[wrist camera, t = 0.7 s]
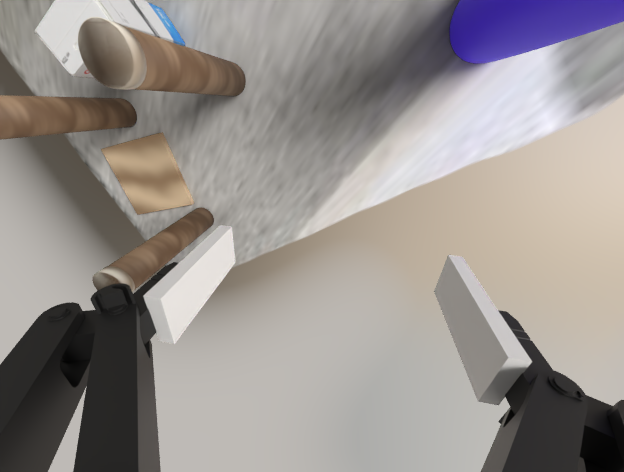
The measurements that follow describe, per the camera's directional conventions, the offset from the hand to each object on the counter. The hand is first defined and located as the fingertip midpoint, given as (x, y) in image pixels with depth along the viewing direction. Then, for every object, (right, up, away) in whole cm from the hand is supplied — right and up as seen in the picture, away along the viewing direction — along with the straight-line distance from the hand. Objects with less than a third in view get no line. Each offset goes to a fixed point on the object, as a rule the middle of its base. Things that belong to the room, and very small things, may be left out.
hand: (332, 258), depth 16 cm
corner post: (-21, +5, +31) cm, 38 cm away
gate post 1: (-31, +21, +24) cm, 44 cm away
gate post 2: (-13, +23, +19) cm, 33 cm away
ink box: (-23, +27, +19) cm, 41 cm away
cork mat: (-30, +12, +28) cm, 43 cm away
